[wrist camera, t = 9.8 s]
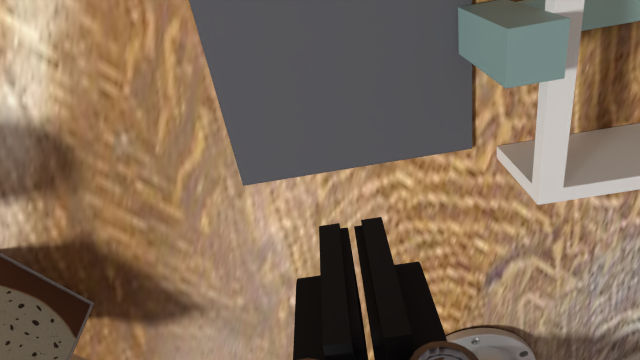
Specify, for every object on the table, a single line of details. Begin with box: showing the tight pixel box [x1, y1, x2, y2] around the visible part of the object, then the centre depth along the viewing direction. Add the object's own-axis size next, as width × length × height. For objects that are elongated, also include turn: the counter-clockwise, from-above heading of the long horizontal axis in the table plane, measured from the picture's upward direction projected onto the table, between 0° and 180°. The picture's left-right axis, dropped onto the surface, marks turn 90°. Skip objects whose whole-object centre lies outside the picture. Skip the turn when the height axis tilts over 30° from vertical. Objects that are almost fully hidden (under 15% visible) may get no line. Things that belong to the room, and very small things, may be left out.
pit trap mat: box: [189, 0, 472, 186], centre depth 30 cm, size 18×18×1 cm
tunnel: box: [497, 0, 640, 205], centre depth 26 cm, size 21×12×7 cm, turn 10°
